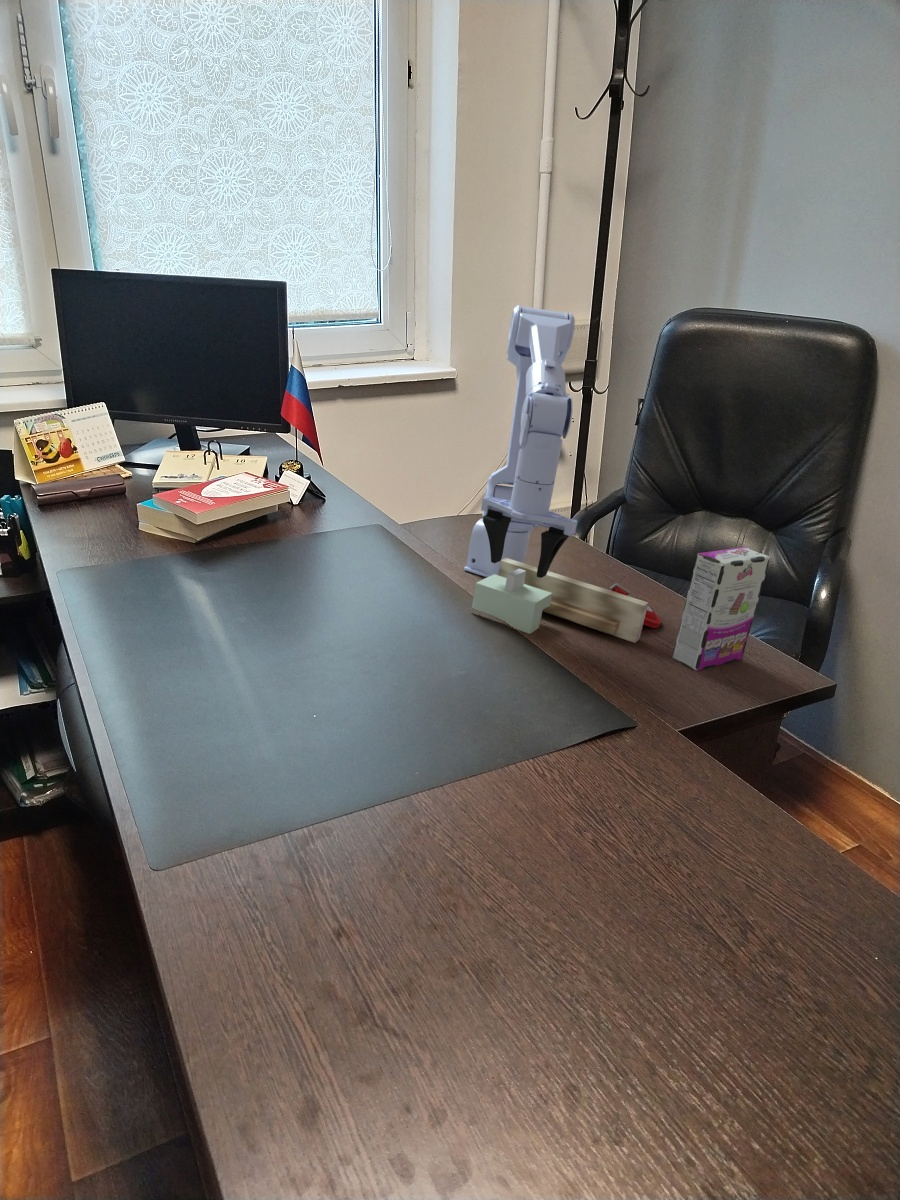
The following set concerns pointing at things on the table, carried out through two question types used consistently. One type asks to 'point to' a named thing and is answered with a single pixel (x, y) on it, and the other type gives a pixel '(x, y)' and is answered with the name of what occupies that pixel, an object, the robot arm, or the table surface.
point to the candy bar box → (720, 607)
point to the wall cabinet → (511, 600)
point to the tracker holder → (650, 615)
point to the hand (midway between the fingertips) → (518, 568)
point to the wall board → (585, 602)
